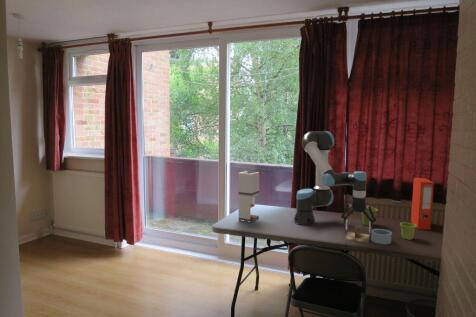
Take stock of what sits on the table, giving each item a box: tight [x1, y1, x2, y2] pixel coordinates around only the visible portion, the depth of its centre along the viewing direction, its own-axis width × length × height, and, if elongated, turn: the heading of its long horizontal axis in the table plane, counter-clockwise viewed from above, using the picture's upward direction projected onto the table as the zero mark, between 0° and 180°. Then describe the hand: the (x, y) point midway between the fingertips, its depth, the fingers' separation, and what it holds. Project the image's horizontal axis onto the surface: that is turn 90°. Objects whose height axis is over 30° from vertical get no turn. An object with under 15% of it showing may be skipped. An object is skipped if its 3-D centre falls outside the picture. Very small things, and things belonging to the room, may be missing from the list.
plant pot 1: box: [360, 206, 379, 227], centre depth 241 cm, size 12×12×11 cm
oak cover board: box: [344, 225, 371, 244], centre depth 213 cm, size 13×13×7 cm
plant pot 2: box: [399, 222, 417, 241], centre depth 214 cm, size 9×9×9 cm
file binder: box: [410, 177, 435, 231], centre depth 237 cm, size 8×17×32 cm, turn 167°
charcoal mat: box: [343, 235, 371, 244], centre depth 214 cm, size 14×14×1 cm
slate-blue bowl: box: [370, 228, 393, 245], centre depth 208 cm, size 11×11×6 cm
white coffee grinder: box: [238, 170, 260, 223], centre depth 252 cm, size 11×11×35 cm
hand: (357, 230), depth 213 cm, fingers open, 13 cm apart
